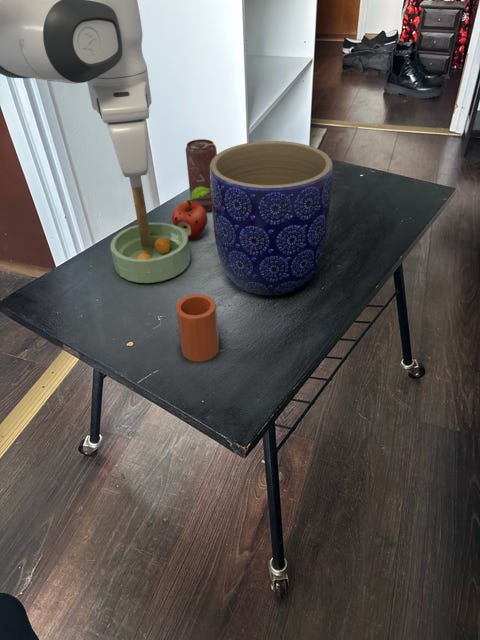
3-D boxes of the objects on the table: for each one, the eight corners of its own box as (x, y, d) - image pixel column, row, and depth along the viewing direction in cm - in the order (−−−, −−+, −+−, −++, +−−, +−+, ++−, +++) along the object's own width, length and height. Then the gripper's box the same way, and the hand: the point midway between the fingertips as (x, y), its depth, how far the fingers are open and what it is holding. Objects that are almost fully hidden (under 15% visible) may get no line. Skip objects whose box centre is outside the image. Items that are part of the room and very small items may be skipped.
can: (219, 213, 103) (215, 148, 94) (190, 213, 103) (183, 148, 94) (221, 200, 107) (217, 137, 99) (193, 201, 108) (186, 138, 99)
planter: (339, 266, 85) (353, 152, 72) (291, 322, 74) (297, 198, 60) (252, 240, 93) (250, 133, 80) (196, 287, 82) (183, 171, 68)
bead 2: (152, 251, 87) (159, 236, 87) (151, 248, 90) (157, 233, 89) (168, 257, 88) (174, 242, 88) (165, 254, 91) (172, 240, 90)
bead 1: (138, 274, 84) (135, 260, 82) (136, 265, 86) (133, 251, 85) (155, 271, 85) (152, 257, 83) (153, 263, 87) (150, 248, 85)
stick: (143, 255, 87) (125, 153, 75) (142, 251, 88) (124, 149, 76) (153, 254, 87) (137, 151, 75) (152, 249, 88) (136, 148, 77)
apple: (187, 249, 91) (181, 201, 85) (168, 236, 96) (161, 189, 89) (219, 236, 95) (215, 188, 89) (199, 224, 99) (194, 177, 93)
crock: (185, 365, 67) (179, 321, 62) (179, 340, 71) (173, 297, 66) (222, 357, 68) (219, 314, 63) (214, 333, 72) (210, 291, 67)
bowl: (118, 291, 81) (112, 267, 78) (114, 251, 92) (108, 228, 88) (196, 278, 84) (193, 253, 81) (183, 240, 94) (180, 217, 91)
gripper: (96, 78, 78) (113, 162, 86) (100, 114, 62) (120, 211, 71) (135, 75, 79) (147, 158, 88) (149, 109, 63) (162, 205, 72)
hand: (135, 182), depth 79 cm, fingers closed on stick, 2 cm apart
